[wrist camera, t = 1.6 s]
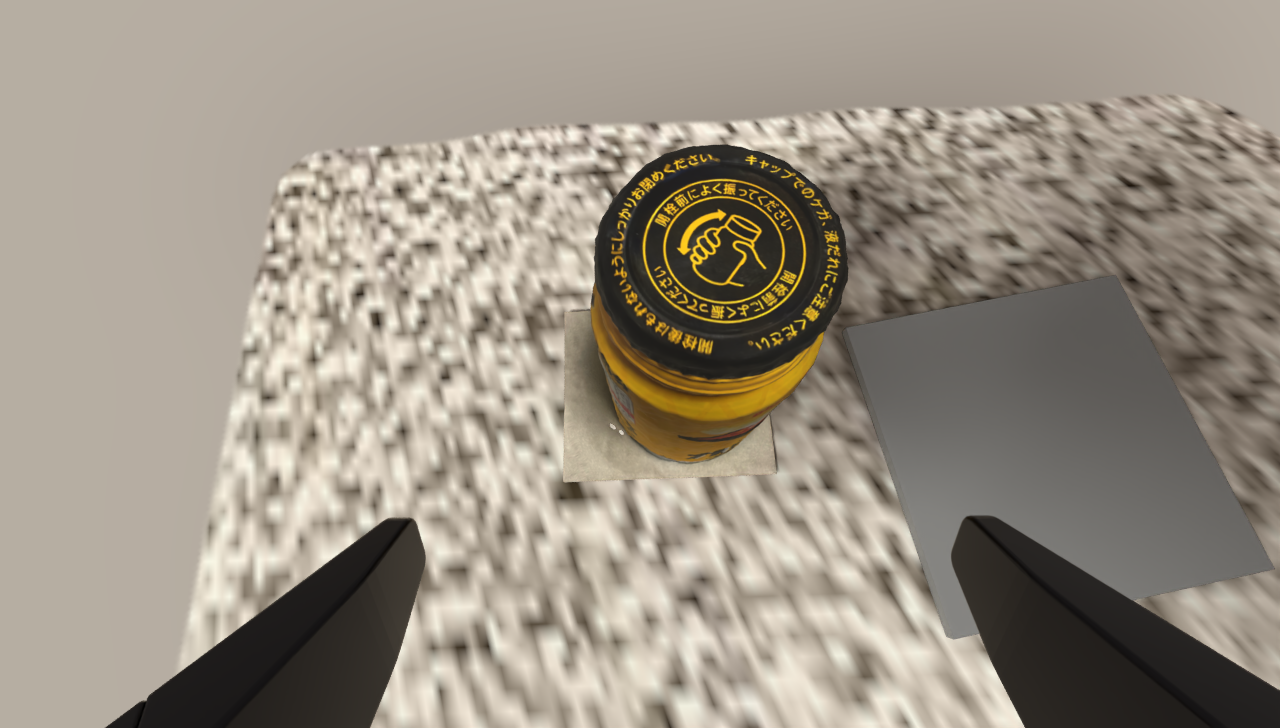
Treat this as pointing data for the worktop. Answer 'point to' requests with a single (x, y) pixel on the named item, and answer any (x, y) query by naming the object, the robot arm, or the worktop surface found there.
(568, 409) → the condiment
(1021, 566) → the robot arm
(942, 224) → the worktop surface
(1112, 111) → the worktop surface
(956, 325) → the mat
